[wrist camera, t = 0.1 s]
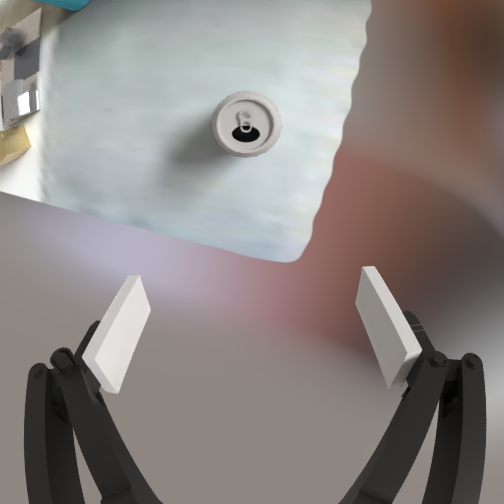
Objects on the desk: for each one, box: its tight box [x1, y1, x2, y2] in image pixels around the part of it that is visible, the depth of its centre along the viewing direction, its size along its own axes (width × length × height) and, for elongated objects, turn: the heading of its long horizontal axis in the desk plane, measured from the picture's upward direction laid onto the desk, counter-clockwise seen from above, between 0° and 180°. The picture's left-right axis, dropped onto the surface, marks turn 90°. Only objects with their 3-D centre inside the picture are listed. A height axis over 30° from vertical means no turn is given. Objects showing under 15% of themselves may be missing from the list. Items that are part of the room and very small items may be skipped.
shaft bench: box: [0, 7, 43, 128], centre depth 25 cm, size 23×14×6 cm, turn 3°
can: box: [212, 91, 282, 158], centre depth 31 cm, size 8×8×12 cm
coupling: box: [0, 125, 31, 166], centre depth 32 cm, size 5×5×7 cm
